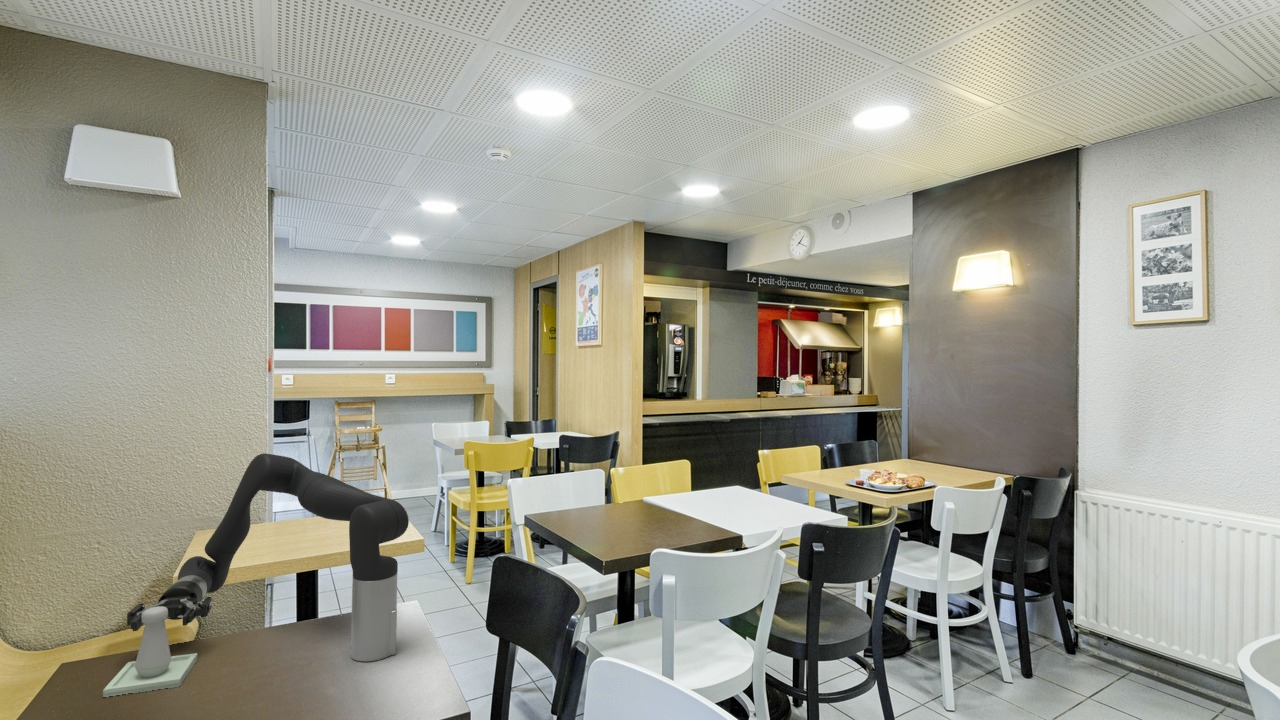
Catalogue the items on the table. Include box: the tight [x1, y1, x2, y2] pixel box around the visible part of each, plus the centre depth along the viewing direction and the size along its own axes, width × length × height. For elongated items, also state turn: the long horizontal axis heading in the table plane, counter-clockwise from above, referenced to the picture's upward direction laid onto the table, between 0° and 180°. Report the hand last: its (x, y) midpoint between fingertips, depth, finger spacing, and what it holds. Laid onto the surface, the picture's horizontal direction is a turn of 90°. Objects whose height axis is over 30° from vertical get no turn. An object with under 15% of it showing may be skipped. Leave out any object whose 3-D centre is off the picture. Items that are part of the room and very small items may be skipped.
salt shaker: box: [135, 606, 171, 678], centre depth 125 cm, size 6×6×13 cm
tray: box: [102, 652, 198, 698], centre depth 125 cm, size 12×12×2 cm
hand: (160, 623), depth 128 cm, fingers open, 8 cm apart
